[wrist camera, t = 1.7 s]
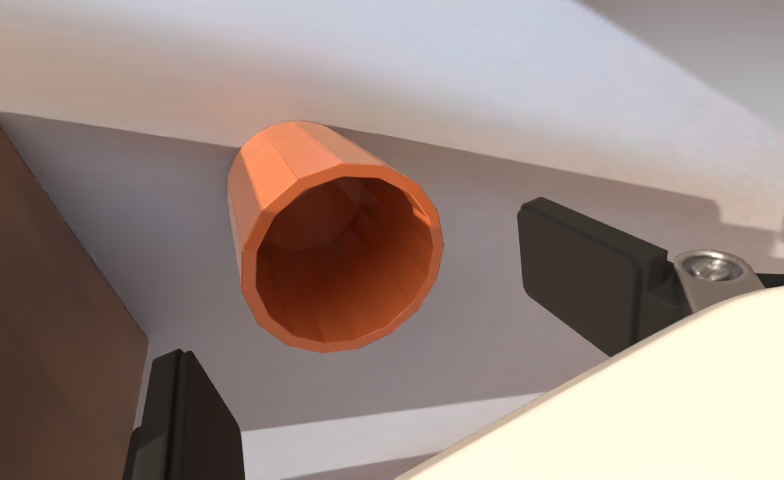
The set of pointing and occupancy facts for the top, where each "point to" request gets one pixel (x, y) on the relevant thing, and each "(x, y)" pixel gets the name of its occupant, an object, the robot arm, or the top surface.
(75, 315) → the brown wooden organizer box
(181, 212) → the top surface
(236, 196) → the tumbler
